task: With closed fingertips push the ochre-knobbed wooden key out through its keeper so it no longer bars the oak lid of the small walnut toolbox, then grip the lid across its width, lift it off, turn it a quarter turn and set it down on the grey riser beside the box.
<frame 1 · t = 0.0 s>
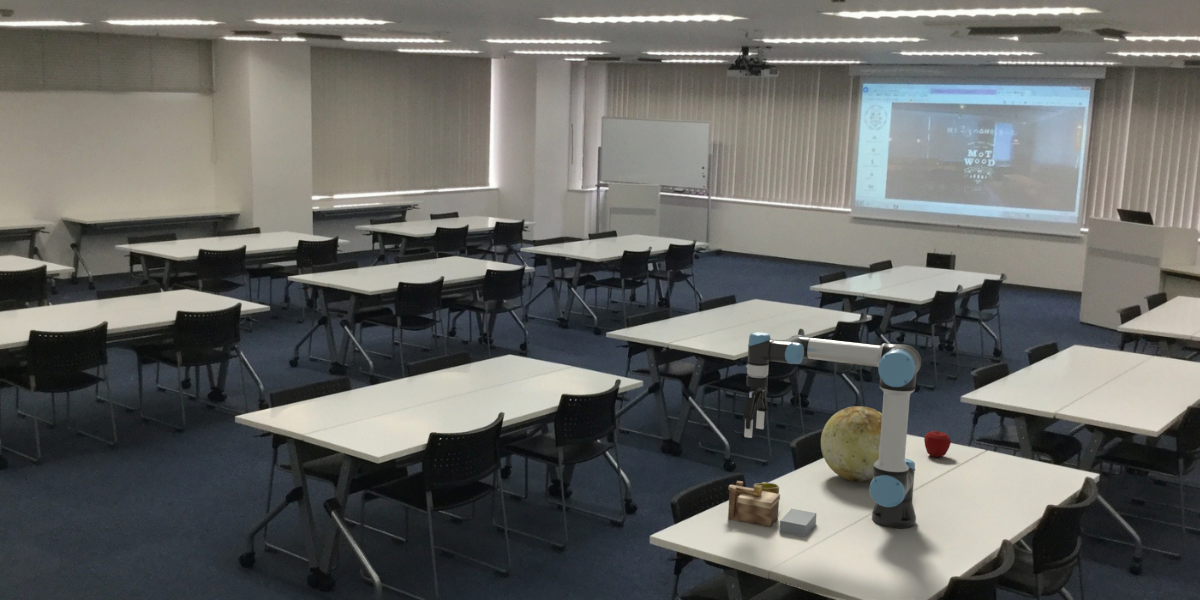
hand: (754, 432, 376), 28 cm above the table, fingers open, 13 cm apart
riser: (797, 527, 361), on the table
toolbox: (757, 520, 367), on the table
mug: (765, 505, 383), on the table
lid: (758, 501, 366), point 7 cm above the table, touching toolbox
apple: (936, 457, 452), on the table
speckled ball: (856, 480, 416), on the table
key: (745, 487, 368), point 11 cm above the table, slide at 0.0 cm
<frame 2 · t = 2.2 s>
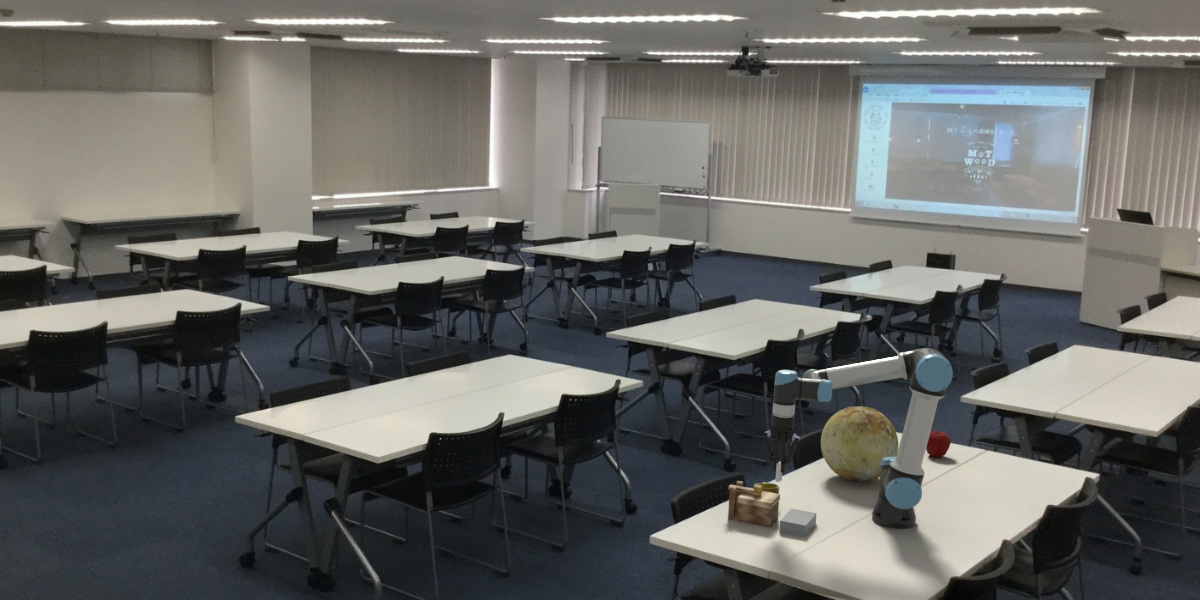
hand: (778, 480, 362), 16 cm above the table, fingers closed
nothing on the table moved.
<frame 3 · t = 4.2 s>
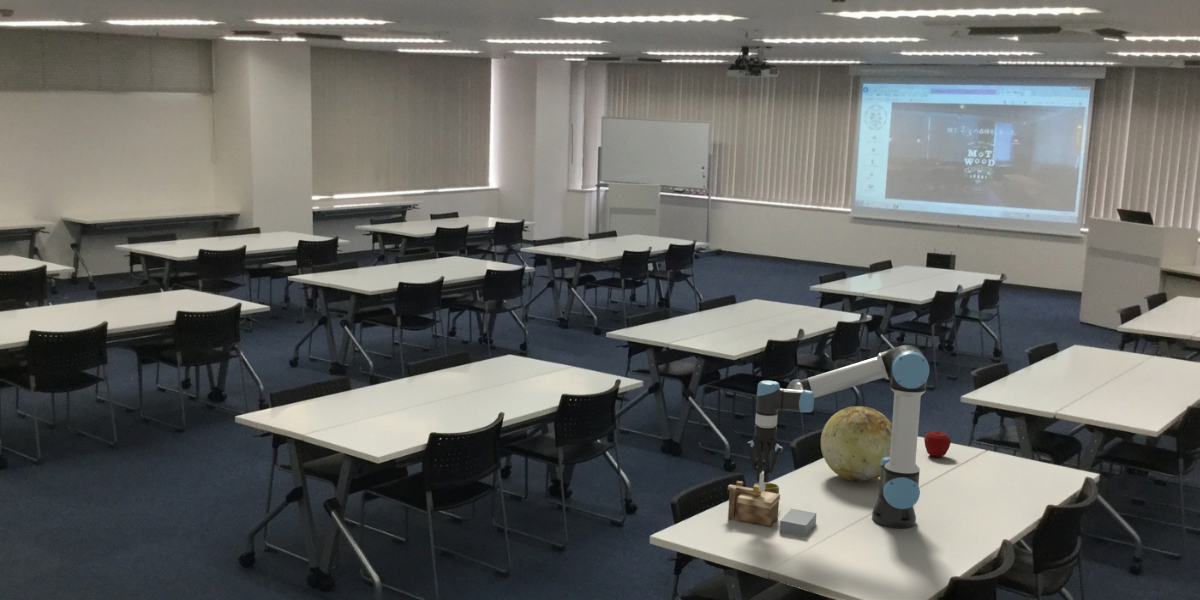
hand: (761, 490, 365), 11 cm above the table, fingers closed
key: (744, 487, 368), point 11 cm above the table, slide at 0.3 cm, touching gripper
everything else where it was.
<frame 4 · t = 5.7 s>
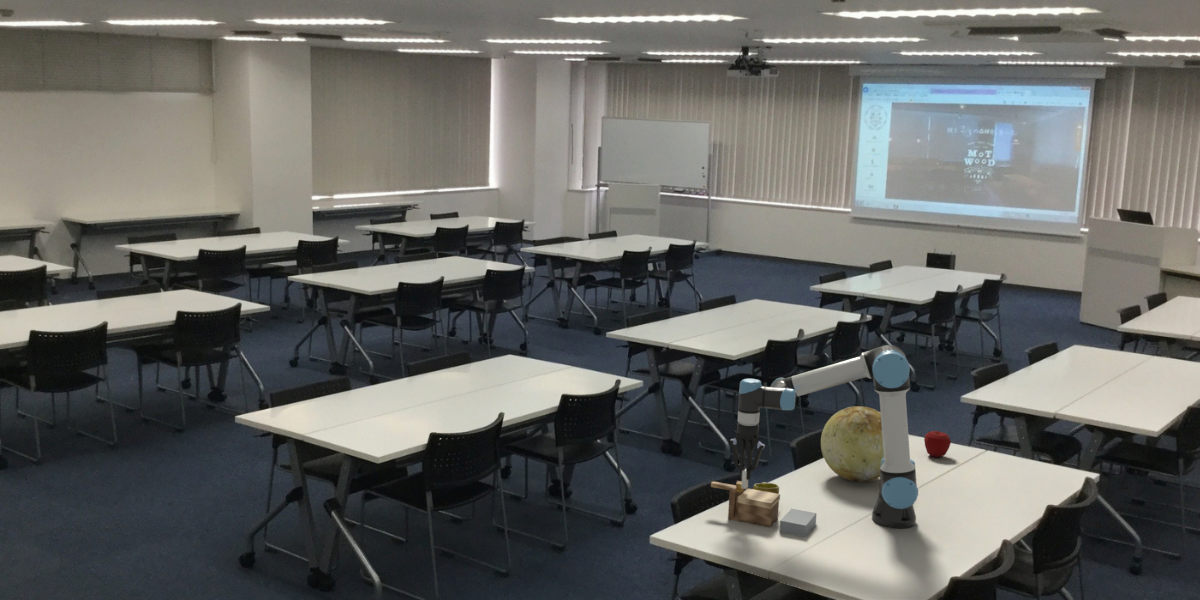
hand: (744, 487, 368), 11 cm above the table, fingers closed
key: (727, 484, 370), point 11 cm above the table, slide at 6.7 cm, touching gripper
everything else where it was.
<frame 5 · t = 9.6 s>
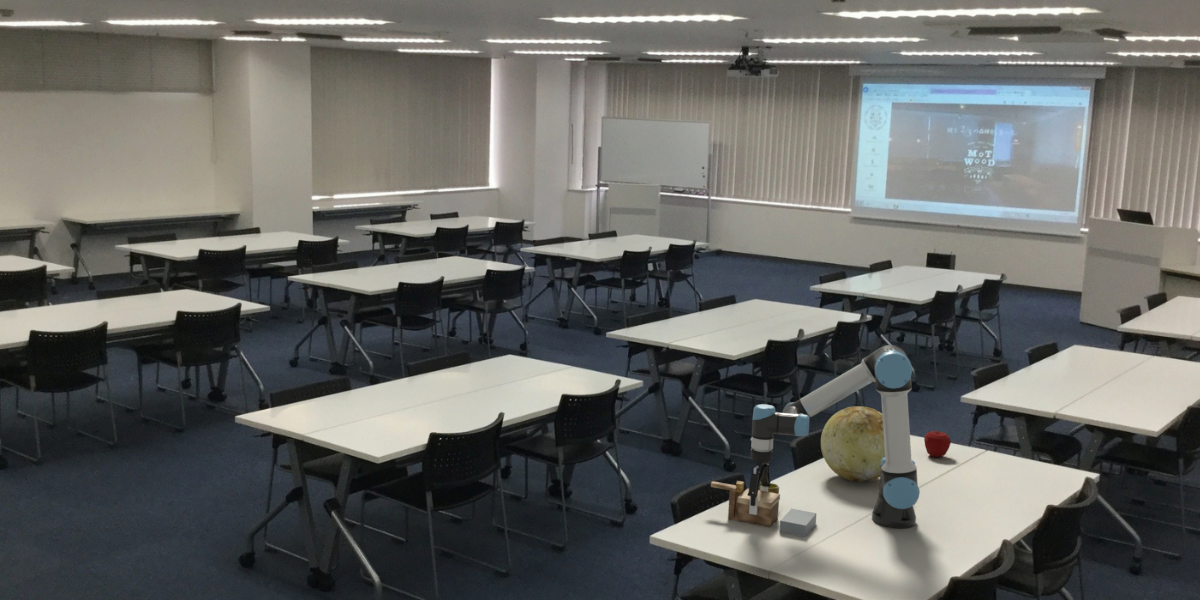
hand: (758, 509, 366), 4 cm above the table, fingers closed on lid, 11 cm apart
lid: (758, 501, 366), point 7 cm above the table, touching gripper, toolbox
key: (727, 484, 370), point 11 cm above the table, slide at 6.7 cm
everything else where it was.
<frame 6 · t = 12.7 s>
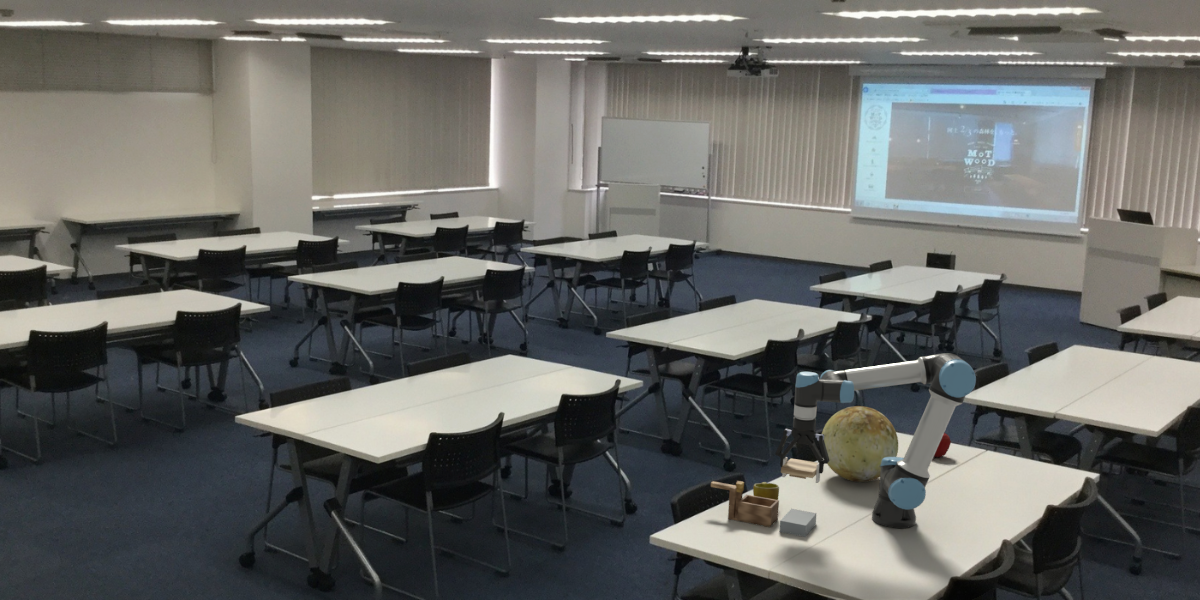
hand: (800, 479, 358), 18 cm above the table, fingers closed on lid, 11 cm apart
lid: (801, 470, 358), point 21 cm above the table, touching gripper
everything else where it was.
when the fingers open (2 cm above the table, at t = 16.0 s): lid stays where it is, resting on riser.
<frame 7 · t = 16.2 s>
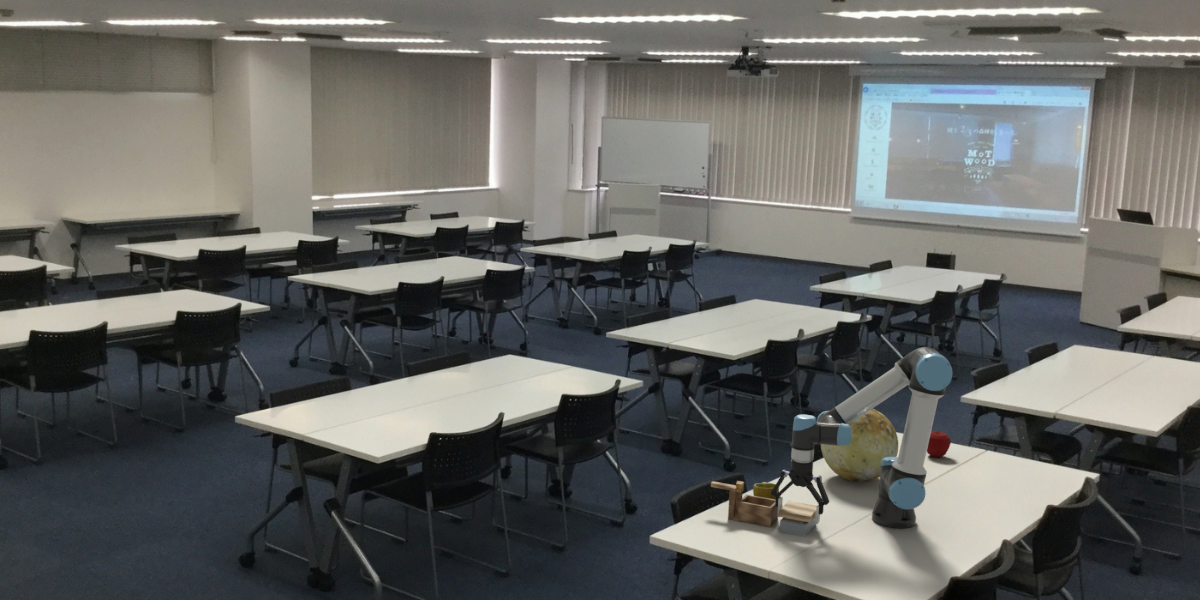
hand: (798, 519, 360), 3 cm above the table, fingers open, 13 cm apart
lid: (798, 514, 360), point 5 cm above the table, touching riser
everything else where it was.
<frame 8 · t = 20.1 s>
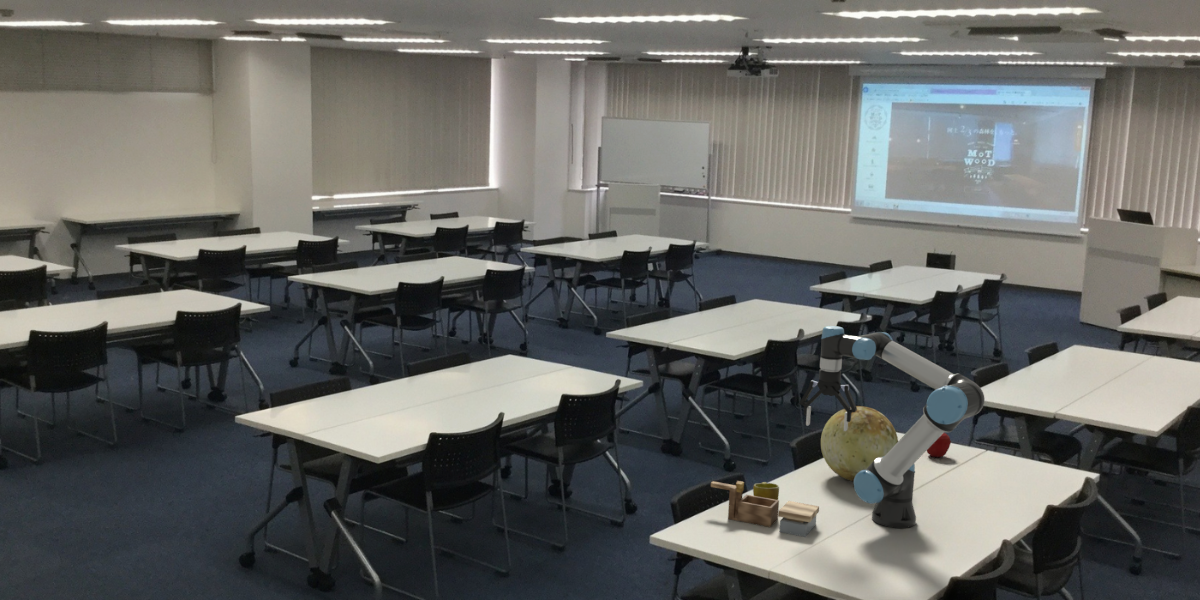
hand: (826, 427, 372), 32 cm above the table, fingers open, 13 cm apart
nothing on the table moved.
at the end: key slide at 6.7 cm; lid inside the target area on the riser (0.0 cm from its centre), point 5.0 cm above the riser's base; lid tilted 0° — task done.
